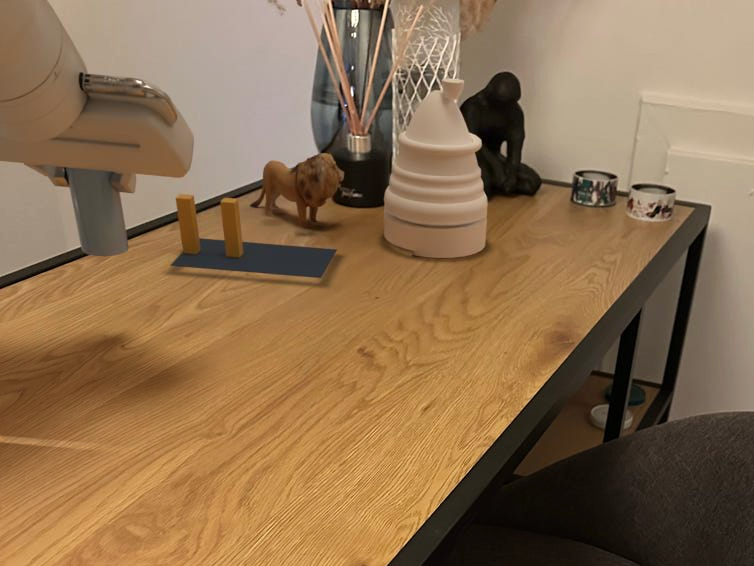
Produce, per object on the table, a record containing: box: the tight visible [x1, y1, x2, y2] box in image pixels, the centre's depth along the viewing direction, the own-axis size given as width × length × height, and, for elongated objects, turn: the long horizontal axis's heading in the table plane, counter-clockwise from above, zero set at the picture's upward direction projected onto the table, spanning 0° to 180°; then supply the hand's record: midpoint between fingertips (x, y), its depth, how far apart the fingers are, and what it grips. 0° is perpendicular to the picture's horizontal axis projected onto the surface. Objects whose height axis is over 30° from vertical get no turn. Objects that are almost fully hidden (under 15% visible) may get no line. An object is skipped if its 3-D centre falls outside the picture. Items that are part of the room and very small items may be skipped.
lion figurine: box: [249, 152, 345, 228], centre depth 118 cm, size 15×5×9 cm, turn 59°
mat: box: [170, 237, 338, 279], centre depth 108 cm, size 17×10×1 cm, turn 86°
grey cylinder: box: [66, 167, 130, 257], centre depth 81 cm, size 4×4×10 cm
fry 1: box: [175, 193, 201, 254], centre depth 106 cm, size 2×2×6 cm
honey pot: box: [383, 77, 489, 259], centre depth 113 cm, size 13×13×18 cm
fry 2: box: [219, 197, 243, 258], centre depth 106 cm, size 2×2×6 cm
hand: (96, 182), depth 81 cm, fingers closed on grey cylinder, 4 cm apart
